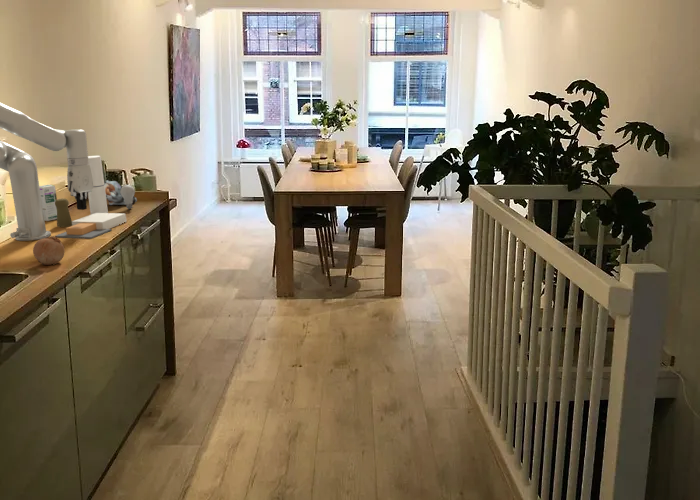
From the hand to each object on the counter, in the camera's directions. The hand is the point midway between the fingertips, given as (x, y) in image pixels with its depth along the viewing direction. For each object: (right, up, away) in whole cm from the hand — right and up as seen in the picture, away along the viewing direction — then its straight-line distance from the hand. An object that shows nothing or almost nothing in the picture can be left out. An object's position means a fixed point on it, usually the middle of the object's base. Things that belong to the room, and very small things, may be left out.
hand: (81, 209), depth 283 cm
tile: (+1, -9, -2) cm, 9 cm away
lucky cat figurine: (-2, +5, +54) cm, 55 cm away
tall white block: (-5, 0, +34) cm, 34 cm away
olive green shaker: (-12, -6, +14) cm, 19 cm away
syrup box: (-23, -3, +27) cm, 36 cm away
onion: (+6, -21, -44) cm, 49 cm away
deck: (+4, -6, +10) cm, 12 cm away
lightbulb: (+6, +2, +42) cm, 42 cm away
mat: (+2, -10, -3) cm, 10 cm away
